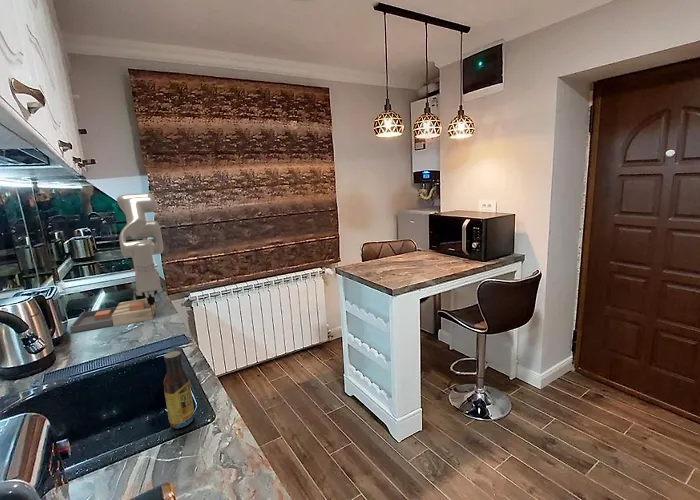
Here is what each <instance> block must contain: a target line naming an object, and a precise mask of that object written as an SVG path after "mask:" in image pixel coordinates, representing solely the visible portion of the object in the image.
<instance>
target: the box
mask: <svg viewBox="0 0 700 500" xmlns="http://www.w3.org/2000/svg"><path fill="white" fill-rule="evenodd" d="M116 308H117V306H115V307H108V308H101V309H96V310H89V311H85V312H83V311H82V312H81V314H80V315H79V316H77V318H76V319H75V321H73V323H72V324H71V325H70V326H69V331H70V334H77V333H83V332H87V331H93V330H98V329H103V328H111V327H114V325H113V320H112V315H111V317H110V318H108V319H102V320H97V321H95V318H94V315H95V314H96V312H99V311H105V310H111V311H112V314H113V313H114V311H115V310H116Z"/></svg>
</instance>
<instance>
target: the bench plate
mask: <svg viewBox="0 0 700 500" xmlns="http://www.w3.org/2000/svg"><path fill="white" fill-rule="evenodd" d="M154 298H155V303H154V305H151V306H150V304H148V301H147V298H146V297H145V298H141V299H135V300H128V301H122V302H119V303H118V304H117V306H116V307H117V308H116V310H115V311H114V313H113V314H112V320H113V327H116V326H121V325H126V324H134V323H137V322H138V323H139V322H143V321H149V320H153V318H154V315H155V312H156V308H157V300H156V296H154ZM144 300H145V304H146V306H145V308H144V309H142V310H136V311H130V310H129V305H130V303H132V302H138V301H144Z"/></svg>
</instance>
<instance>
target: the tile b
mask: <svg viewBox="0 0 700 500" xmlns="http://www.w3.org/2000/svg"><path fill="white" fill-rule="evenodd" d="M145 306H146V304H145V300H144V301H138V302H132V303H130V305H129V310H130V311H136V310H142V309H144V308H145Z"/></svg>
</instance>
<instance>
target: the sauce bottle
mask: <svg viewBox="0 0 700 500" xmlns="http://www.w3.org/2000/svg"><path fill="white" fill-rule="evenodd" d="M163 360H164V363H165V368H166V369H165V371H166V374H165V376H164V379H163V390H164V398H165V404H166V410H167V417H168V423H169V424H170V428H172V427H174V426H176V425H178V424H180V423H182V422H184V421H186V420H187V419H189V418H190V417H191V416H192V414H193V413H194V414H195V408H194V401H193V396H192V388H191V387H192V386H191V380H190V377H189V376H188V374H187V373H186V371H185V370H184V366H183V364H182V363H183V361H182V352H181V351H178V350H173V351H170V352H167V353H165V354H164V355H163ZM172 429H173V428H172Z"/></svg>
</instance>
